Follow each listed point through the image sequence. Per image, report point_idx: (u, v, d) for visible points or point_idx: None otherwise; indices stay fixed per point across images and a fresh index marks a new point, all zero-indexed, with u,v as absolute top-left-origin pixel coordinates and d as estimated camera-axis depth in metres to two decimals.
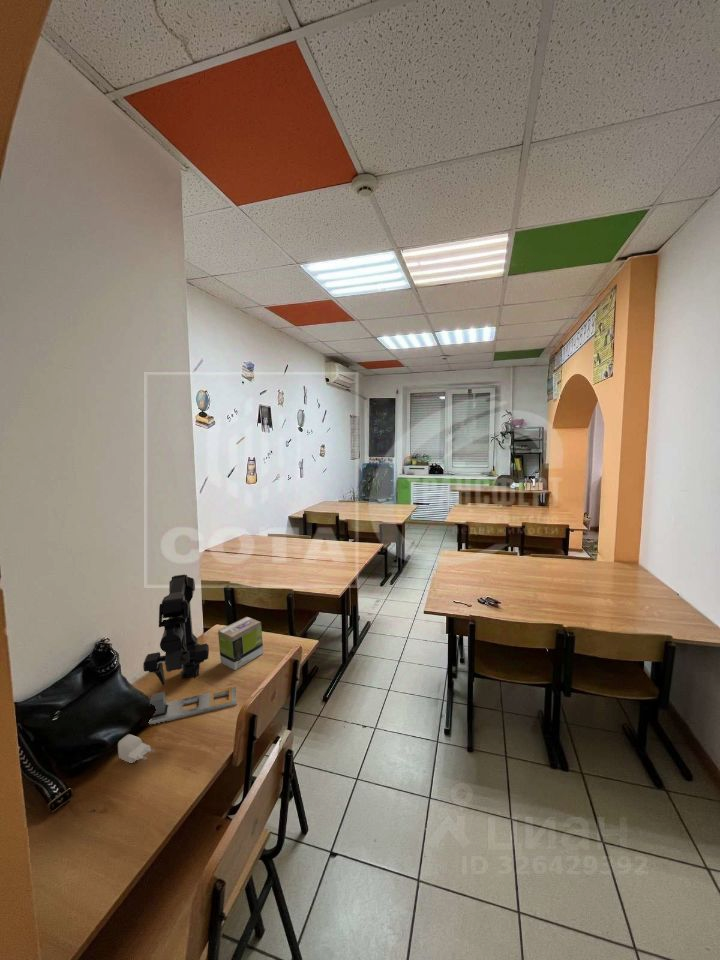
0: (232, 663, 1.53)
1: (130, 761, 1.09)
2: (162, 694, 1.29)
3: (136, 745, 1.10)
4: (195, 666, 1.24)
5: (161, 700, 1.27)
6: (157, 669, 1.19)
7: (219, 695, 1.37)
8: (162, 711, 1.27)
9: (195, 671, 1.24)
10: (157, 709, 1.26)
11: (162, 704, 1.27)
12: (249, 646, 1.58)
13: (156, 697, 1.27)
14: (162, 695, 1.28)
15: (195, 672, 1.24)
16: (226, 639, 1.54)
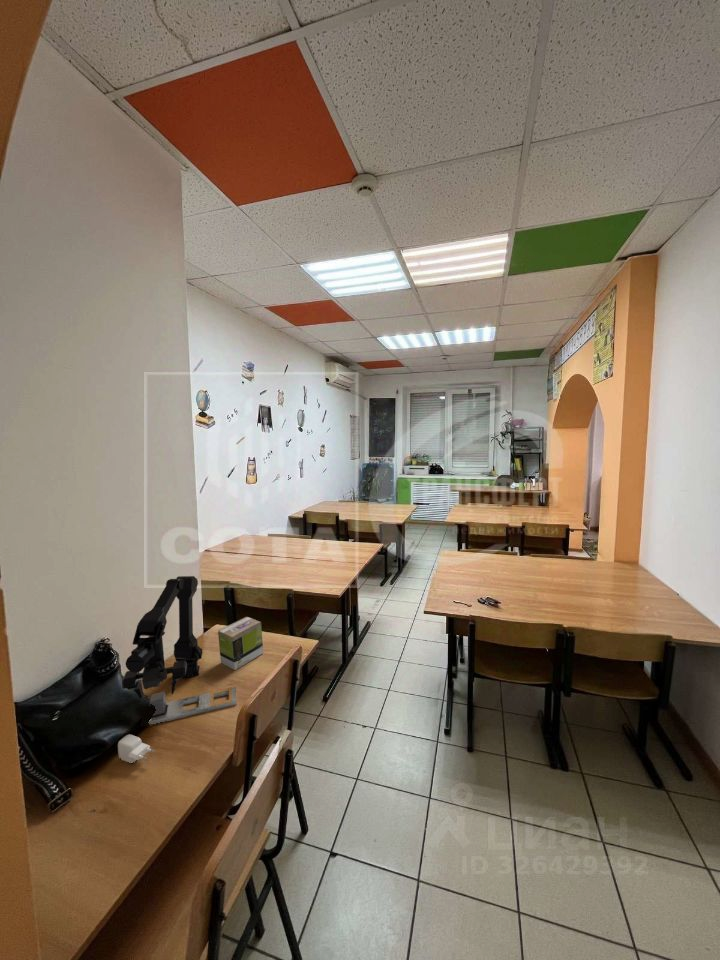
0: (232, 663, 1.53)
1: (130, 761, 1.09)
2: (162, 694, 1.29)
3: (136, 745, 1.10)
4: (173, 682, 1.28)
5: (161, 700, 1.27)
6: (135, 686, 1.23)
7: (219, 695, 1.37)
8: (162, 711, 1.27)
9: (173, 687, 1.28)
10: (157, 709, 1.26)
11: (162, 704, 1.27)
12: (249, 646, 1.58)
13: (156, 697, 1.27)
14: (162, 695, 1.28)
15: (173, 688, 1.28)
16: (226, 639, 1.54)
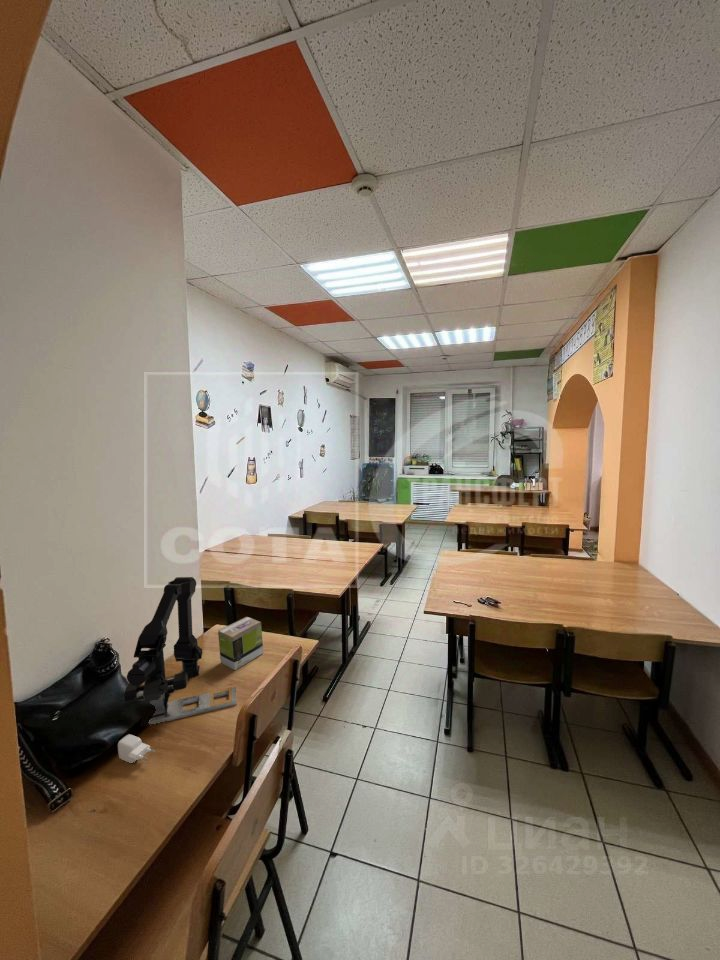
0: (232, 663, 1.53)
1: (130, 761, 1.09)
2: None
3: (136, 745, 1.10)
4: (166, 696, 1.27)
5: (161, 700, 1.27)
6: None
7: (219, 695, 1.37)
8: (162, 711, 1.27)
9: (166, 701, 1.28)
10: (157, 709, 1.26)
11: (162, 704, 1.27)
12: (249, 646, 1.58)
13: None
14: (162, 695, 1.28)
15: (166, 702, 1.28)
16: (226, 639, 1.54)
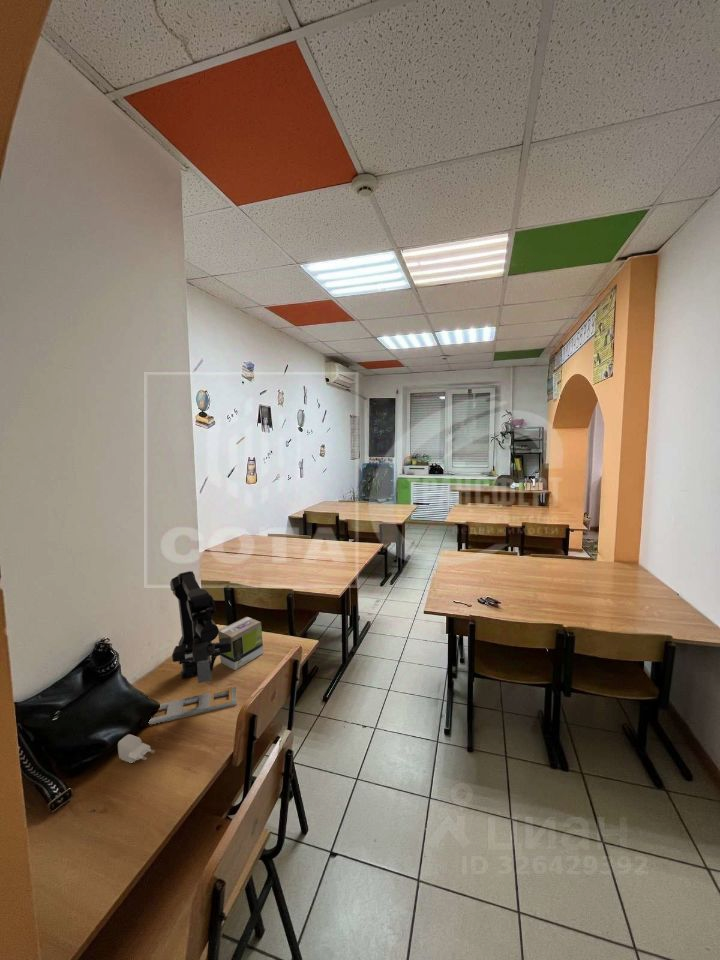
0: (232, 663, 1.53)
1: (130, 761, 1.09)
2: None
3: (136, 745, 1.10)
4: (212, 659, 1.31)
5: (207, 663, 1.30)
6: (192, 658, 1.28)
7: (219, 695, 1.37)
8: (208, 673, 1.30)
9: (212, 664, 1.31)
10: (204, 671, 1.30)
11: (208, 667, 1.30)
12: (249, 646, 1.58)
13: None
14: None
15: (212, 665, 1.32)
16: None
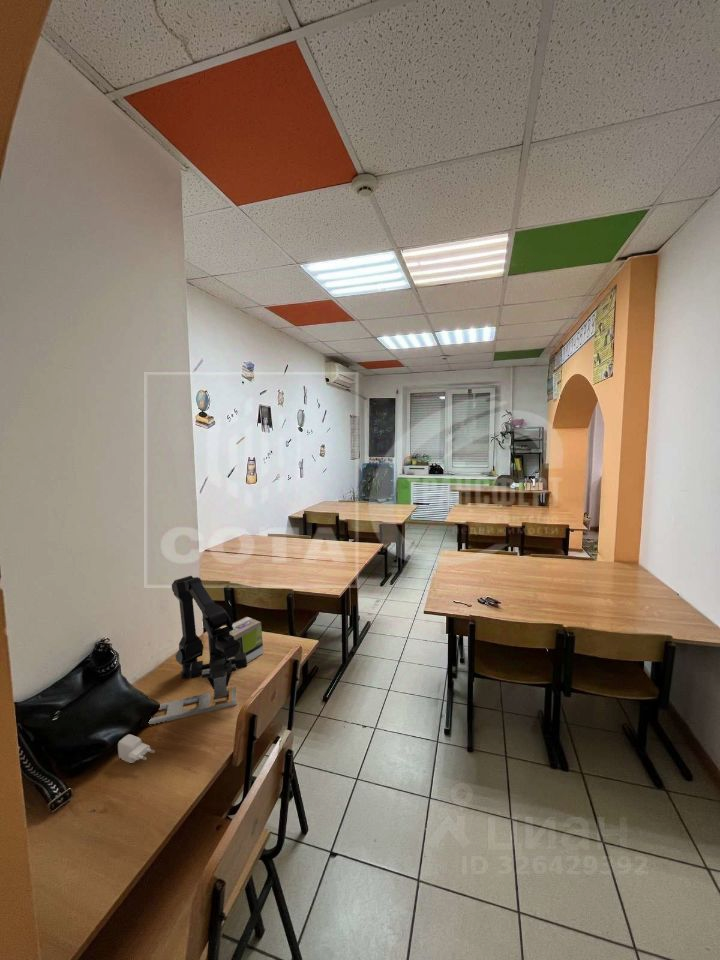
0: None
1: (130, 761, 1.09)
2: None
3: (135, 745, 1.10)
4: (228, 675, 1.34)
5: (224, 678, 1.33)
6: (209, 675, 1.30)
7: None
8: (224, 688, 1.33)
9: (228, 679, 1.34)
10: (220, 687, 1.33)
11: (225, 682, 1.33)
12: (249, 646, 1.58)
13: None
14: None
15: (227, 680, 1.34)
16: None
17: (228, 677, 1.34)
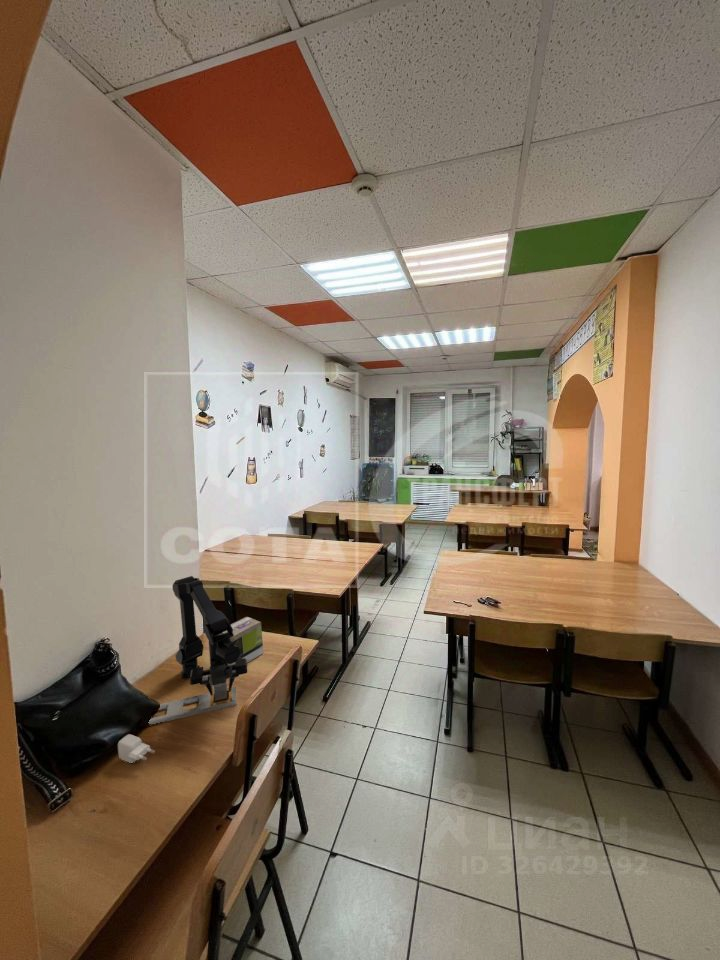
0: (232, 663, 1.53)
1: (130, 761, 1.09)
2: None
3: (136, 745, 1.10)
4: (230, 680, 1.34)
5: (224, 686, 1.33)
6: (207, 681, 1.30)
7: None
8: (225, 696, 1.33)
9: (230, 685, 1.35)
10: (220, 695, 1.33)
11: (225, 690, 1.33)
12: (249, 646, 1.58)
13: None
14: None
15: (230, 686, 1.35)
16: None
17: (231, 682, 1.34)
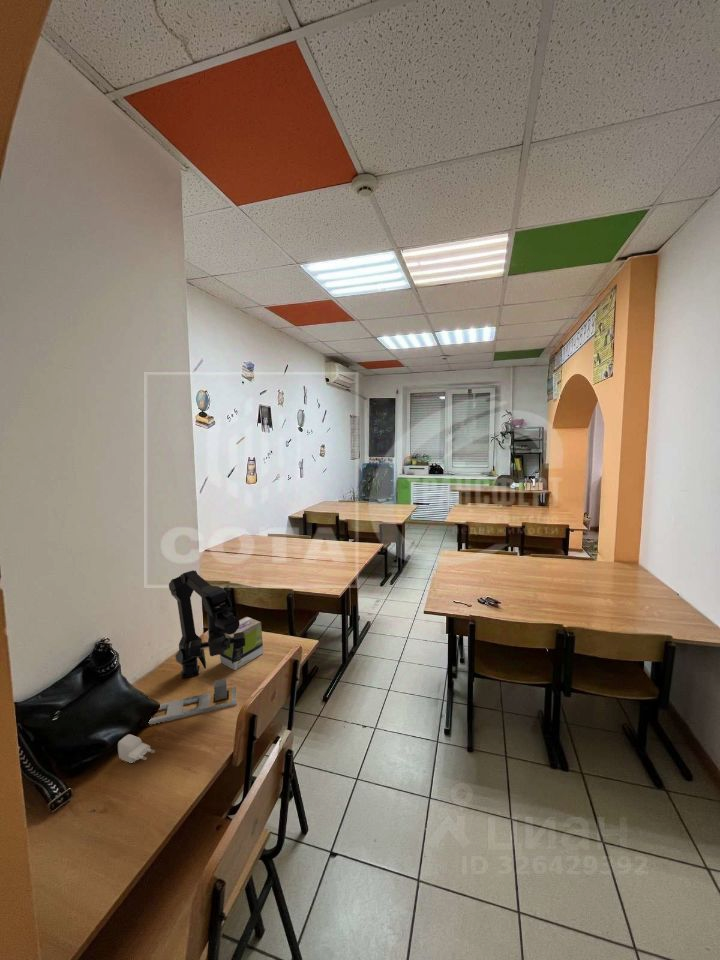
0: None
1: (130, 761, 1.09)
2: (224, 681, 1.35)
3: (136, 745, 1.10)
4: (233, 652, 1.36)
5: (224, 686, 1.33)
6: (200, 654, 1.31)
7: None
8: (225, 696, 1.33)
9: (233, 657, 1.36)
10: (221, 695, 1.33)
11: (225, 690, 1.33)
12: (249, 646, 1.58)
13: (219, 683, 1.34)
14: (224, 681, 1.35)
15: (233, 657, 1.36)
16: None
17: (234, 654, 1.36)
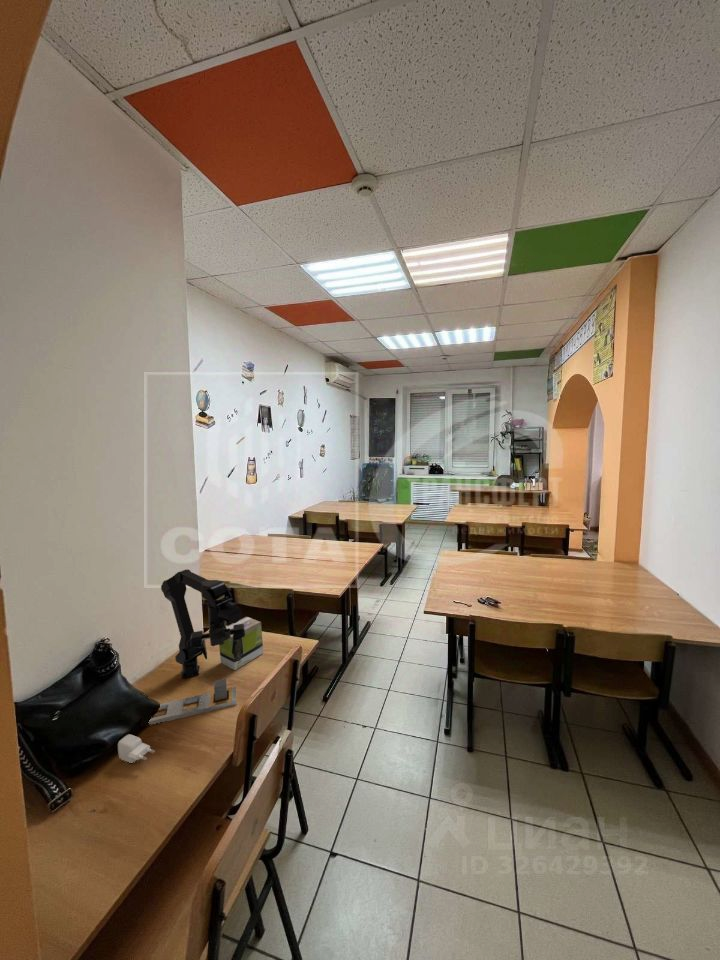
0: (232, 663, 1.53)
1: (130, 761, 1.09)
2: (224, 681, 1.35)
3: (136, 745, 1.10)
4: (233, 643, 1.41)
5: (224, 686, 1.33)
6: (202, 645, 1.36)
7: None
8: (225, 696, 1.33)
9: (233, 647, 1.42)
10: (221, 695, 1.33)
11: (225, 690, 1.33)
12: (249, 646, 1.58)
13: (219, 683, 1.34)
14: (224, 681, 1.35)
15: (233, 648, 1.42)
16: None
17: (234, 645, 1.41)
